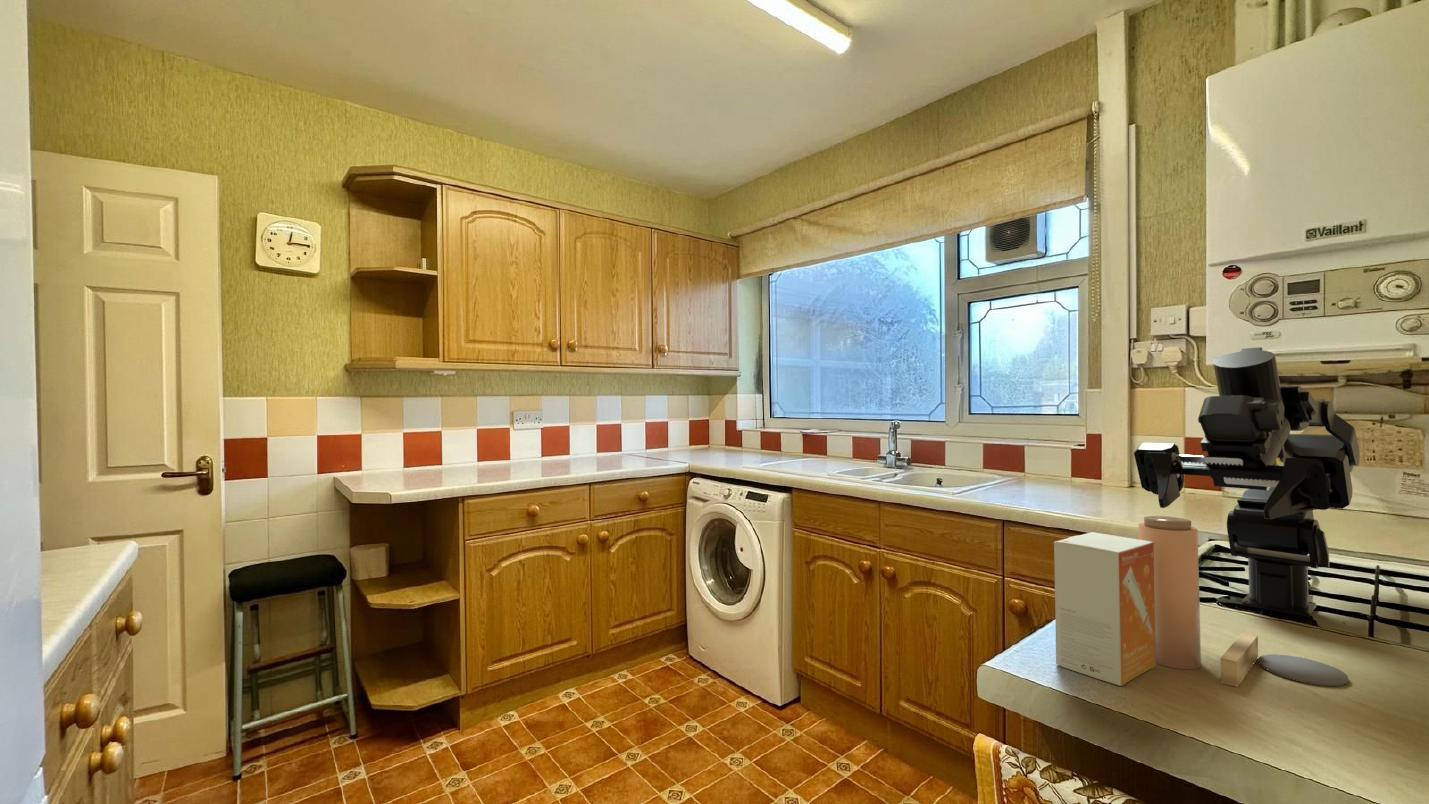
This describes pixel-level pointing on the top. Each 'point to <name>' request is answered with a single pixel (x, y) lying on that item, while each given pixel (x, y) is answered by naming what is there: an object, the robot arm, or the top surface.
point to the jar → (1175, 590)
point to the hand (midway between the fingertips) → (1210, 509)
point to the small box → (1105, 606)
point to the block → (1239, 659)
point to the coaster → (1303, 670)
